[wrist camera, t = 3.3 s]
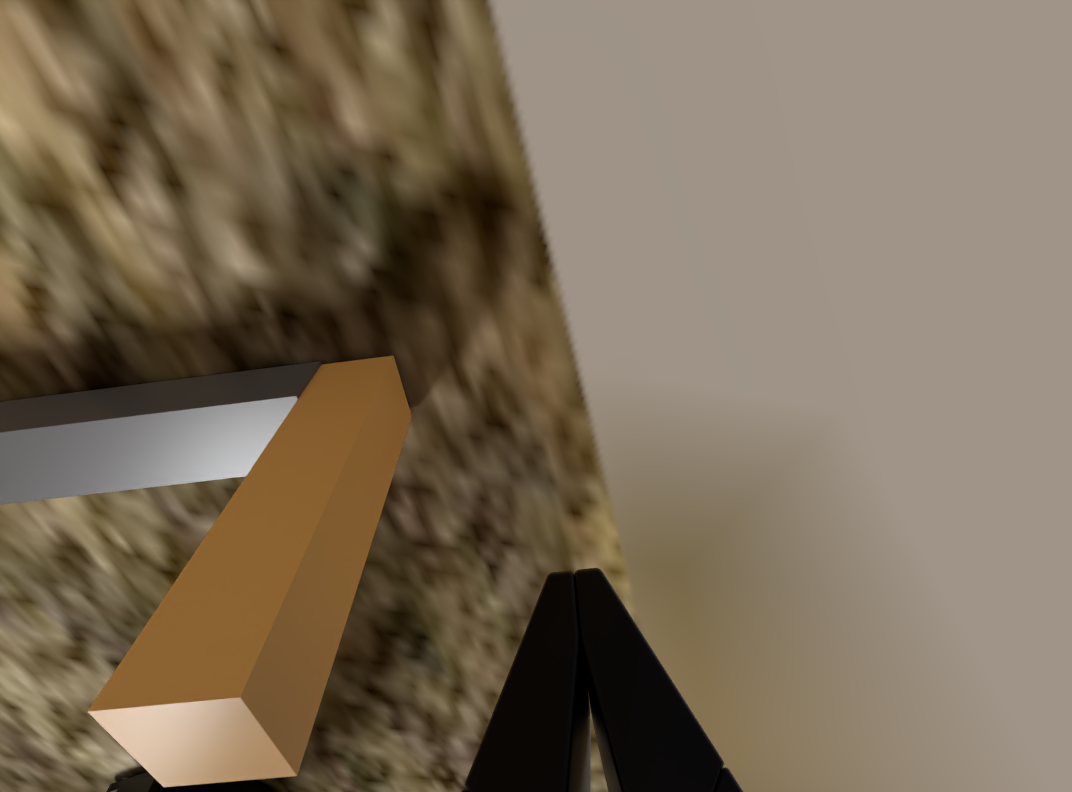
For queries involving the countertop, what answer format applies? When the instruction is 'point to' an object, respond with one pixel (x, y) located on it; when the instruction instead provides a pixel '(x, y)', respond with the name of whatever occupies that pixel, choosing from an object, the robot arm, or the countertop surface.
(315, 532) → the multicoloured u-shaped piece
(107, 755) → the countertop surface
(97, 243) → the countertop surface
